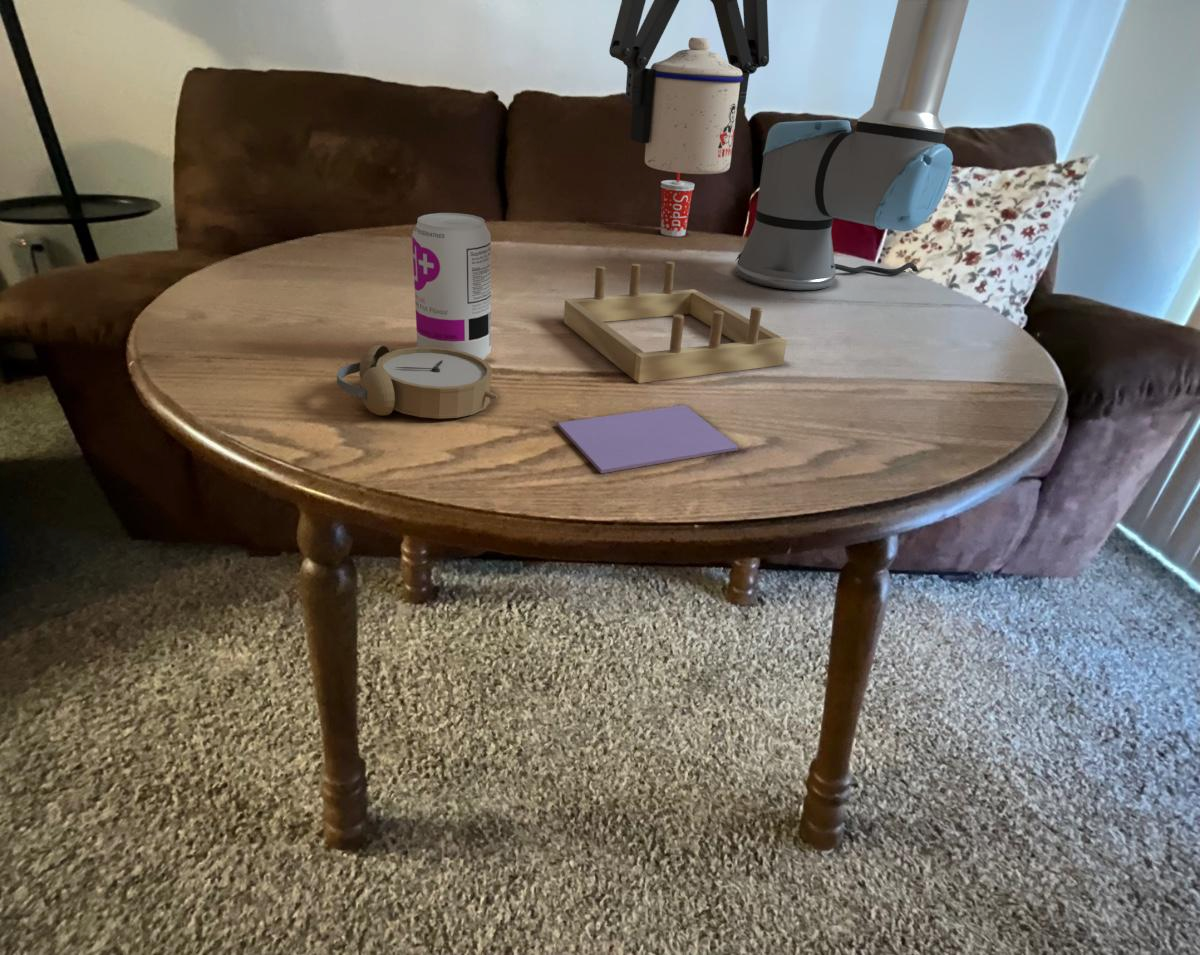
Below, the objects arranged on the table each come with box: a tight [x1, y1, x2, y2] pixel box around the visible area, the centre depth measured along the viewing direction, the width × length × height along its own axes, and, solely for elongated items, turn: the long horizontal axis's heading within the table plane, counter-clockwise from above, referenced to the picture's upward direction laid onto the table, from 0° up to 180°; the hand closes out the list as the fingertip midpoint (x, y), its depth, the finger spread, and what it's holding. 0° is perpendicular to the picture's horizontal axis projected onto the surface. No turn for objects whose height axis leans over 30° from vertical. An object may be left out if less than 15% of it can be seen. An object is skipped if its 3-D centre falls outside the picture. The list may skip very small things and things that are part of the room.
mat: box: [557, 404, 739, 474], centre depth 79 cm, size 14×10×1 cm
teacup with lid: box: [644, 37, 743, 175], centre depth 84 cm, size 12×9×12 cm
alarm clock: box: [336, 344, 498, 420], centre depth 83 cm, size 11×5×15 cm
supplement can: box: [411, 212, 492, 361], centre depth 92 cm, size 8×8×15 cm
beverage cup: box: [660, 172, 695, 237], centre depth 154 cm, size 6×6×14 cm
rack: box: [563, 261, 788, 384], centre depth 102 cm, size 19×21×7 cm
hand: (682, 141), depth 85 cm, fingers closed on teacup with lid, 9 cm apart
